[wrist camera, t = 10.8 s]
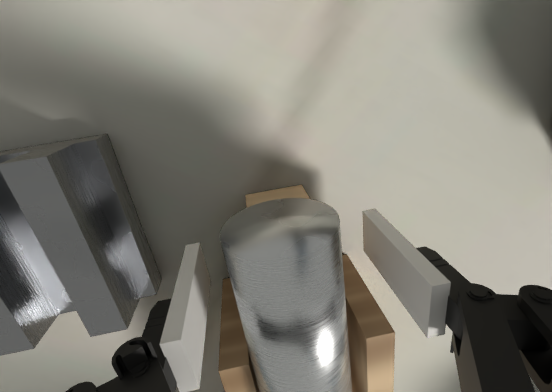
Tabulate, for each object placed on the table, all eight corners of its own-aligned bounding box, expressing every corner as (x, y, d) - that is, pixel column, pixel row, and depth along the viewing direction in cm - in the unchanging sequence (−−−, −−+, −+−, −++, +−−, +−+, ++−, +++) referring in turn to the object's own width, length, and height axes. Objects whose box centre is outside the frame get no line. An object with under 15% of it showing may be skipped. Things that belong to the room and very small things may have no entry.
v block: (-68, 162, 16) (-159, 190, 12) (107, 133, 16) (70, 152, 13) (24, 306, 20) (-24, 360, 16) (161, 279, 20) (145, 325, 17)
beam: (353, 381, 27) (391, 477, 21) (256, 403, 27) (263, 509, 20) (342, 177, 19) (397, 230, 13) (202, 202, 19) (186, 272, 12)
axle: (344, 372, 20) (365, 464, 15) (269, 380, 20) (267, 473, 15) (328, 192, 15) (352, 248, 10) (228, 205, 15) (208, 266, 10)
